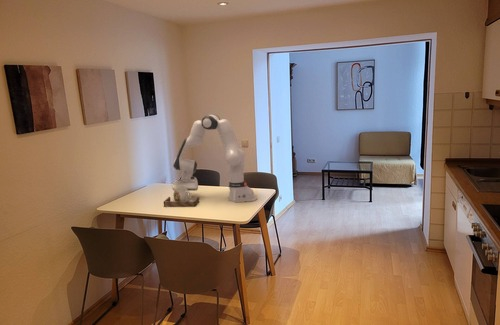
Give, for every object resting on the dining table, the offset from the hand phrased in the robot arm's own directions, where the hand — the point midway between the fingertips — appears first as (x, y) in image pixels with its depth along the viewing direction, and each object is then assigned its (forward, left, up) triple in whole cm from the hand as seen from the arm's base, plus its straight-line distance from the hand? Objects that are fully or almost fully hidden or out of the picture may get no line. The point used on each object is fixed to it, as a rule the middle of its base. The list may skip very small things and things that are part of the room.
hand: (183, 194), depth 297 cm
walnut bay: (0, +7, -5) cm, 9 cm away
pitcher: (0, +6, -5) cm, 8 cm away
